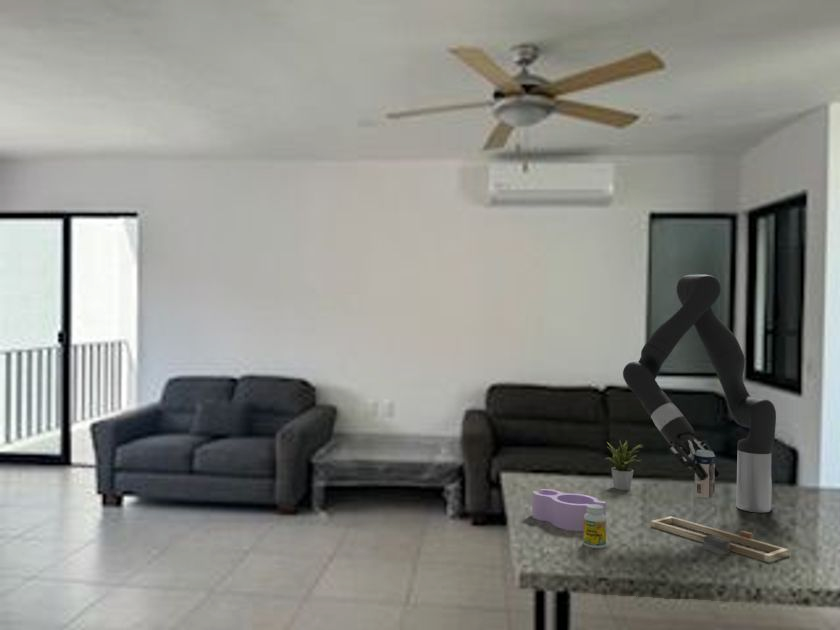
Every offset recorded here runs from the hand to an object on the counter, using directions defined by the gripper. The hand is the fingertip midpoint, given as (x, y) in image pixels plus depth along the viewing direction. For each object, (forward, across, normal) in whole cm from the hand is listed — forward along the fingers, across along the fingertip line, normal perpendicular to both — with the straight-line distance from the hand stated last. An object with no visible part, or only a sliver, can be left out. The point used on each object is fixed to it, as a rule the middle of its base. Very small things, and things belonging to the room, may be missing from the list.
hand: (711, 477), depth 176 cm
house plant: (-21, +23, +44) cm, 54 cm away
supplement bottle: (+3, -30, +19) cm, 36 cm away
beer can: (+3, 0, +6) cm, 6 cm away
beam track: (+12, -2, +10) cm, 16 cm away
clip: (-9, -22, +32) cm, 40 cm away
